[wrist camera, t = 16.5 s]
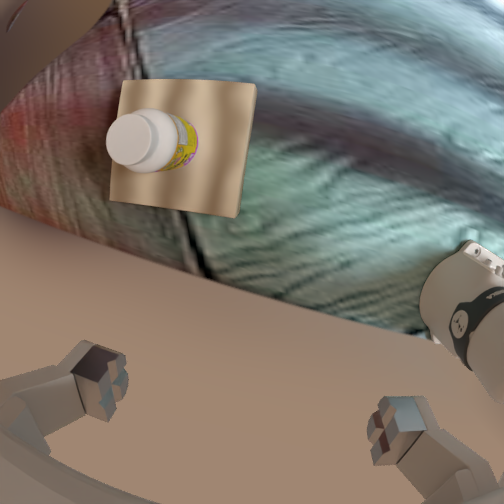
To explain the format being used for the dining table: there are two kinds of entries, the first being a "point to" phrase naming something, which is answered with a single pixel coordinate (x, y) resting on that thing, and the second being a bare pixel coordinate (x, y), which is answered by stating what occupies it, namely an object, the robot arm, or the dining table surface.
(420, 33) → the dining table surface
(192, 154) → the supplement bottle
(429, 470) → the robot arm
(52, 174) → the dining table surface
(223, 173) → the birch plinth
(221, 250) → the dining table surface
